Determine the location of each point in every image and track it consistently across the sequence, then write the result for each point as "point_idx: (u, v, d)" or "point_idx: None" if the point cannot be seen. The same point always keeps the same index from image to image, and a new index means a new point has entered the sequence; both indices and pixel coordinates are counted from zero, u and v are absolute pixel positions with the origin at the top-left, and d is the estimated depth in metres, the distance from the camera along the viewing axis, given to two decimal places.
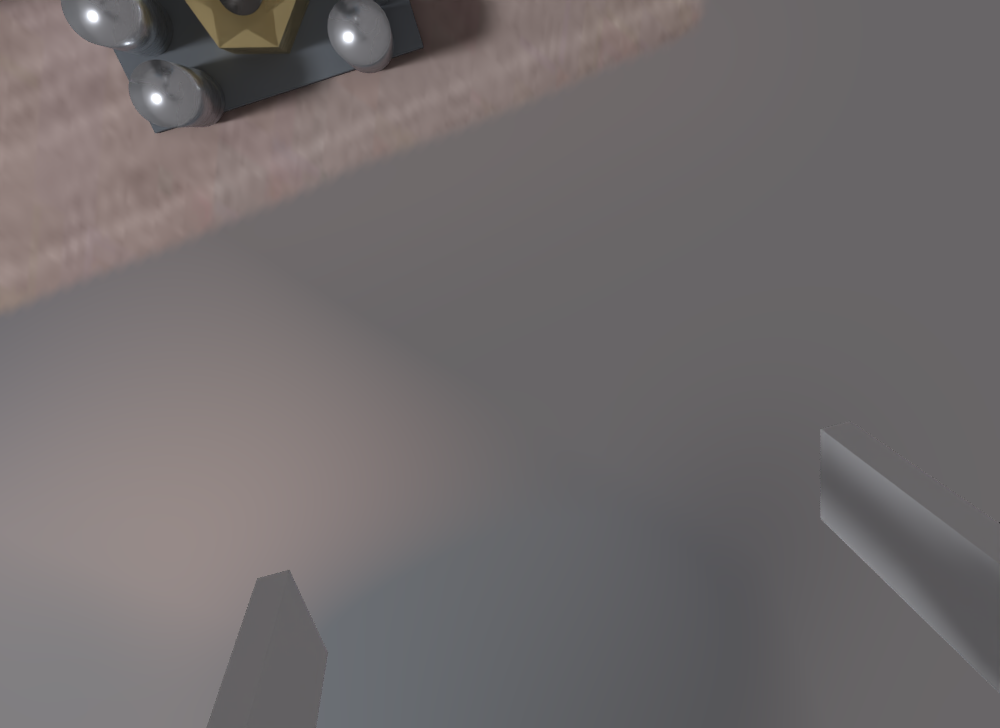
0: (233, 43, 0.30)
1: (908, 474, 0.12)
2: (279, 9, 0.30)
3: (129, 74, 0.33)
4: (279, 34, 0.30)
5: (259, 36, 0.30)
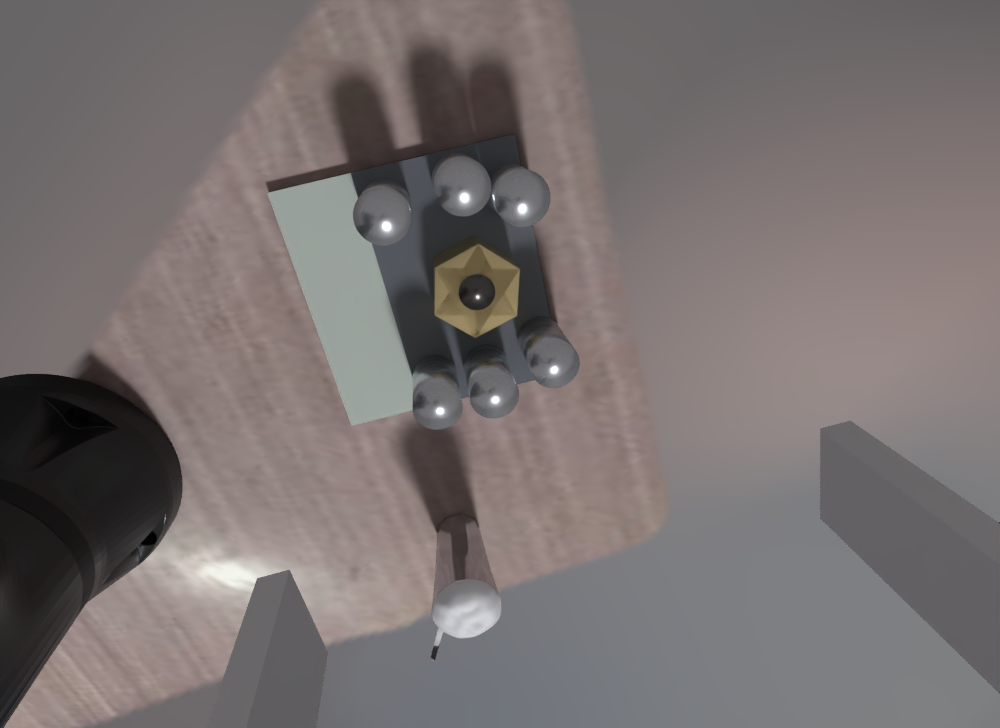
0: (514, 304, 0.36)
1: (908, 474, 0.12)
2: (492, 263, 0.35)
3: (518, 381, 0.42)
4: (510, 266, 0.35)
5: (511, 282, 0.36)
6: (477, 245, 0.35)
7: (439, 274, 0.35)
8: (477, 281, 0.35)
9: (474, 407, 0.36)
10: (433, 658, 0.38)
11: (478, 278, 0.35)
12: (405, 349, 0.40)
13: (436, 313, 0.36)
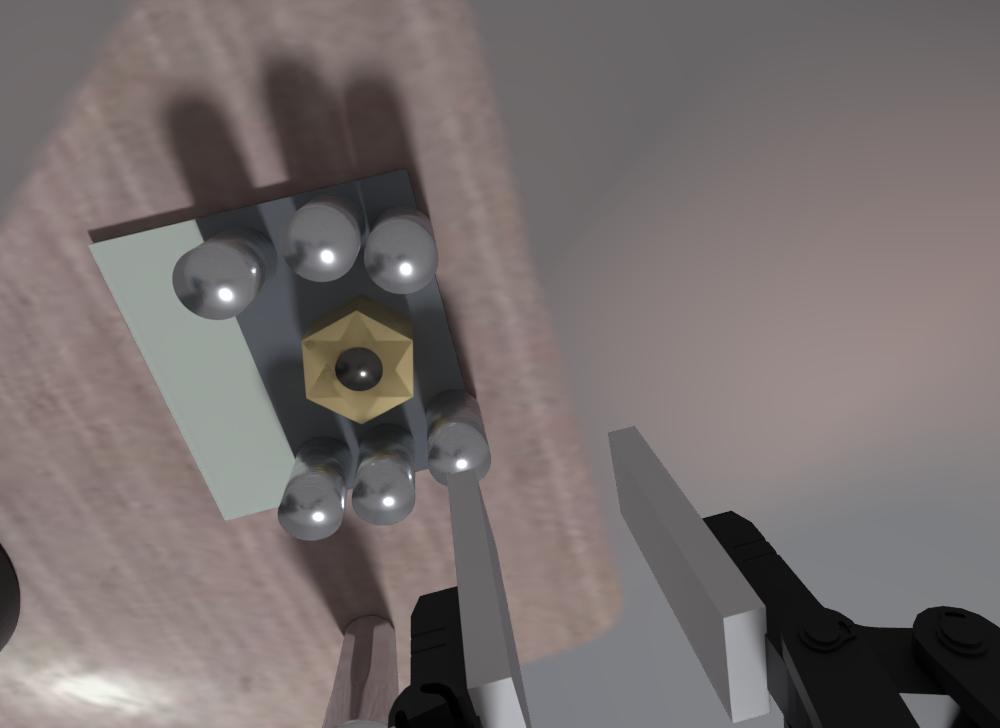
0: (409, 383, 0.29)
1: (653, 473, 0.14)
2: (376, 333, 0.28)
3: None
4: (400, 337, 0.28)
5: (402, 357, 0.28)
6: (355, 312, 0.27)
7: (308, 348, 0.27)
8: (358, 355, 0.28)
9: (358, 513, 0.29)
10: None
11: (359, 352, 0.28)
12: (285, 430, 0.32)
13: (308, 396, 0.28)
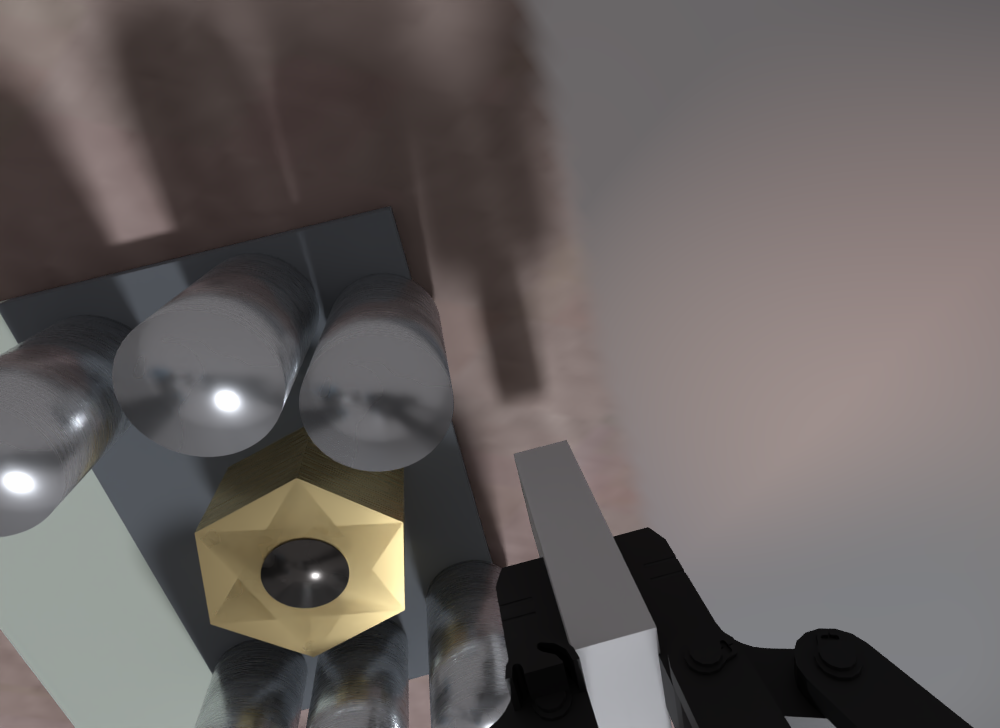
0: (397, 589, 0.16)
1: (575, 489, 0.14)
2: (335, 515, 0.15)
3: None
4: (380, 518, 0.15)
5: (384, 550, 0.16)
6: (294, 481, 0.14)
7: (208, 545, 0.15)
8: (304, 551, 0.15)
9: None
10: None
11: (305, 546, 0.15)
12: (193, 634, 0.19)
13: (214, 620, 0.16)
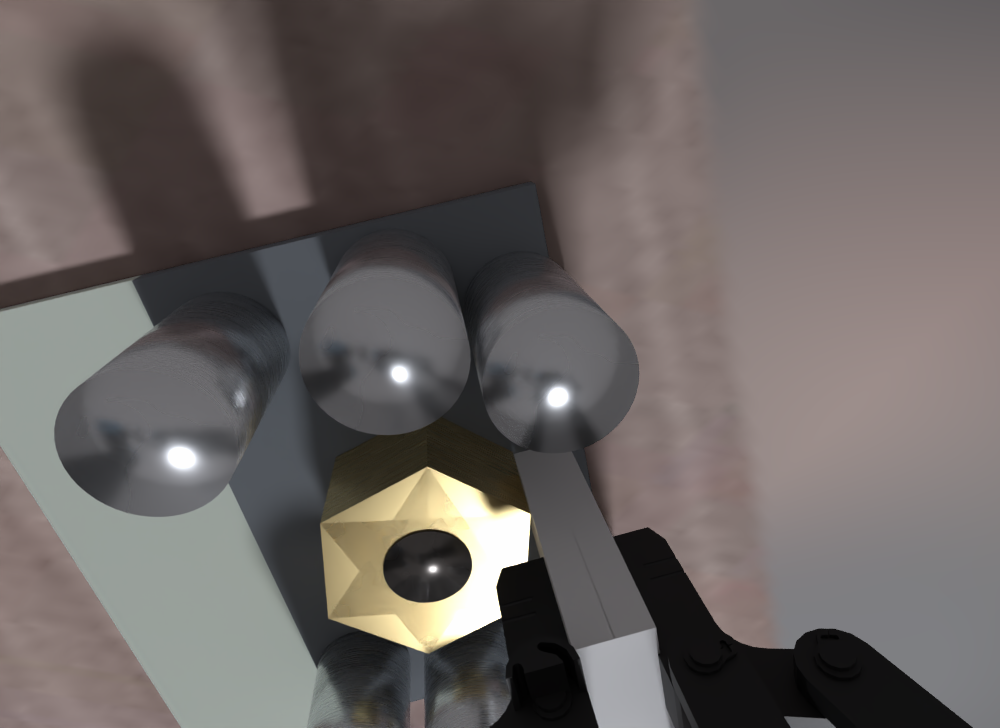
0: None
1: (575, 489, 0.14)
2: (463, 505, 0.14)
3: None
4: (508, 509, 0.15)
5: (509, 543, 0.15)
6: (424, 470, 0.14)
7: (332, 536, 0.14)
8: (428, 543, 0.15)
9: None
10: None
11: (429, 538, 0.15)
12: (299, 625, 0.19)
13: (332, 614, 0.15)
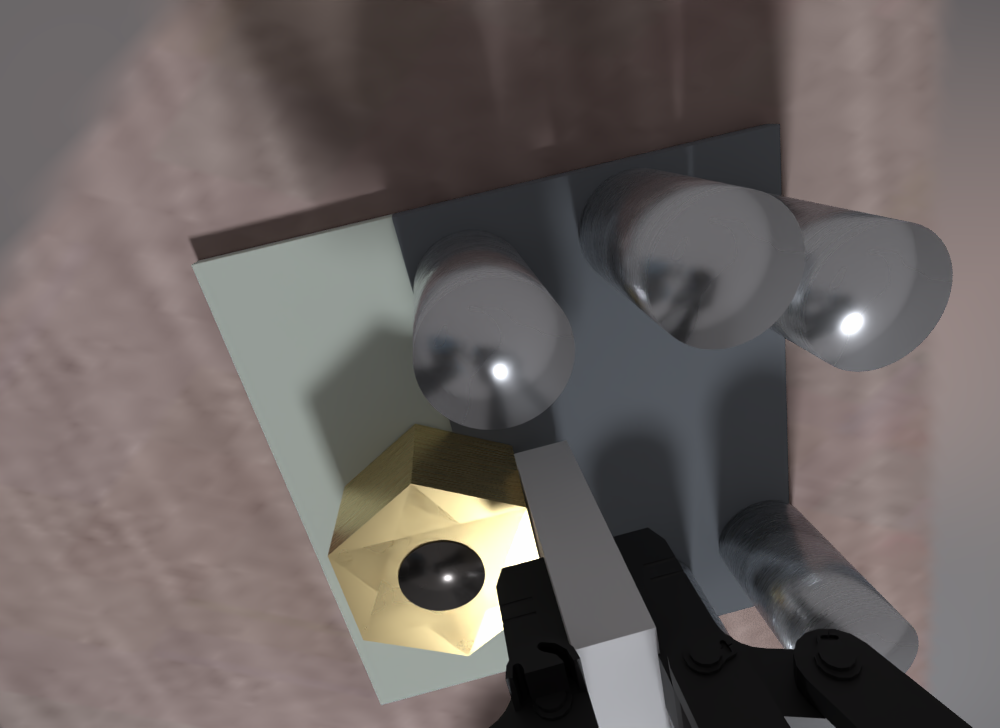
0: None
1: (574, 489, 0.14)
2: (457, 513, 0.15)
3: None
4: (503, 507, 0.15)
5: (514, 539, 0.15)
6: (409, 487, 0.14)
7: (343, 565, 0.15)
8: (435, 554, 0.15)
9: None
10: None
11: (435, 549, 0.15)
12: None
13: (365, 636, 0.16)
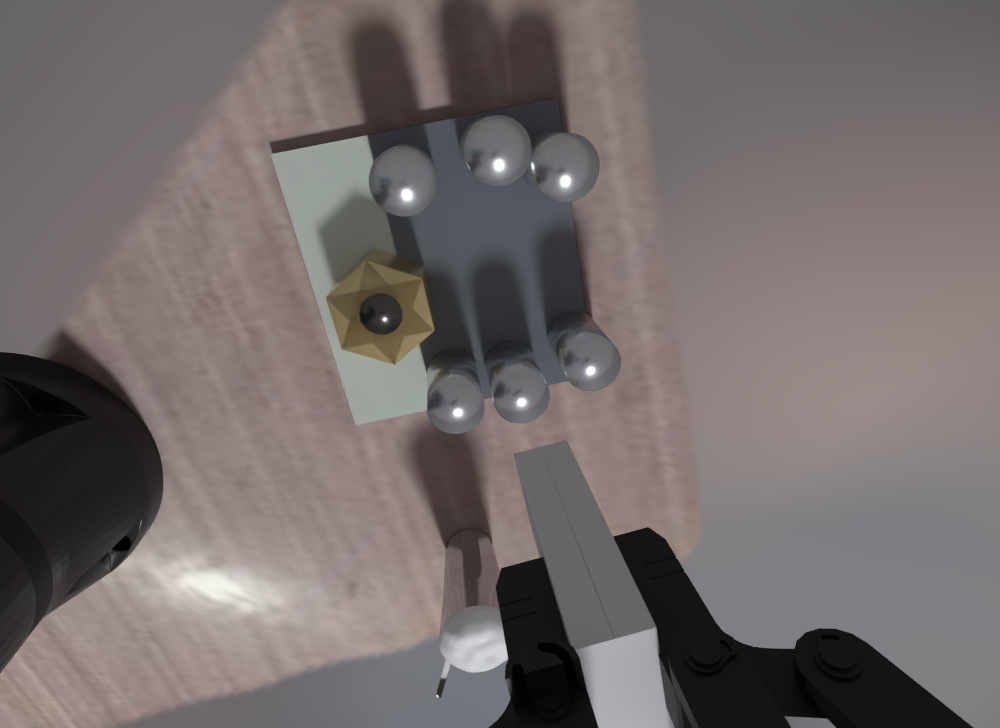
0: (428, 318, 0.31)
1: (575, 489, 0.14)
2: (388, 278, 0.30)
3: None
4: (410, 277, 0.30)
5: (416, 295, 0.31)
6: (365, 262, 0.30)
7: (332, 303, 0.31)
8: (378, 301, 0.31)
9: (498, 410, 0.32)
10: (439, 695, 0.33)
11: (378, 299, 0.31)
12: None
13: (342, 347, 0.32)
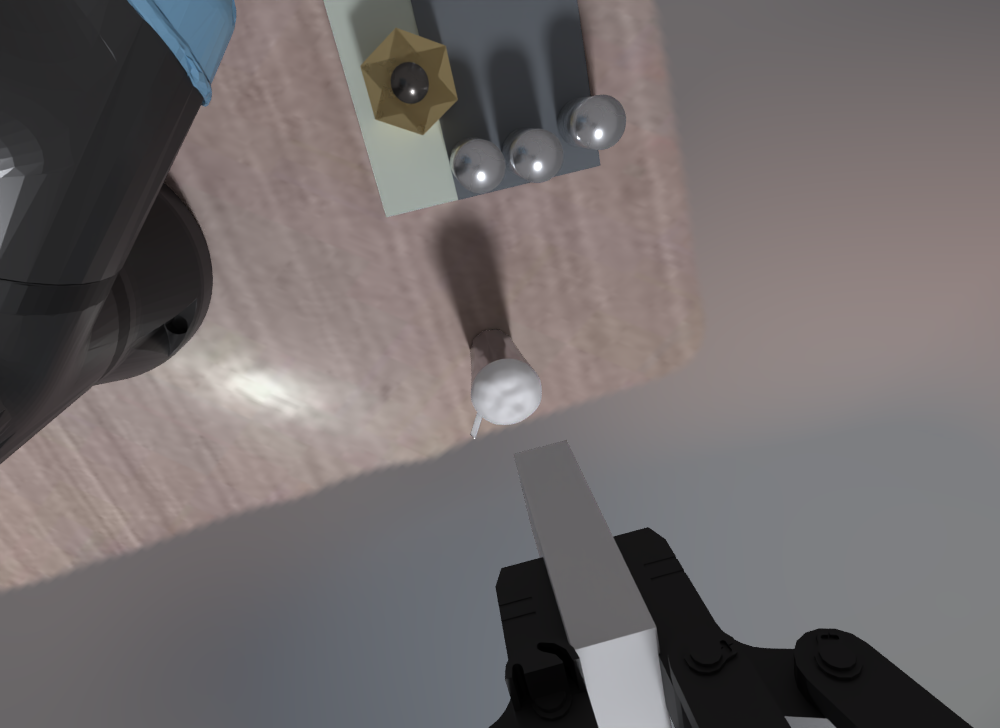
0: (451, 87, 0.35)
1: (575, 489, 0.14)
2: (415, 46, 0.34)
3: None
4: (435, 45, 0.34)
5: (441, 63, 0.34)
6: (395, 29, 0.34)
7: (366, 72, 0.34)
8: (406, 70, 0.34)
9: (517, 168, 0.35)
10: (473, 436, 0.37)
11: (406, 67, 0.34)
12: (443, 129, 0.39)
13: (376, 117, 0.35)
